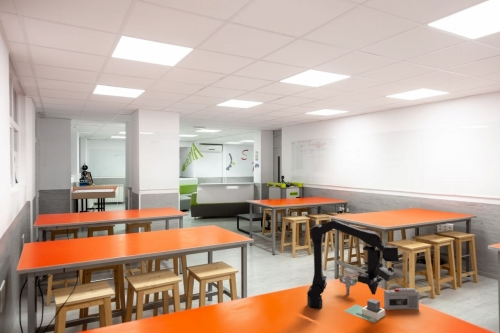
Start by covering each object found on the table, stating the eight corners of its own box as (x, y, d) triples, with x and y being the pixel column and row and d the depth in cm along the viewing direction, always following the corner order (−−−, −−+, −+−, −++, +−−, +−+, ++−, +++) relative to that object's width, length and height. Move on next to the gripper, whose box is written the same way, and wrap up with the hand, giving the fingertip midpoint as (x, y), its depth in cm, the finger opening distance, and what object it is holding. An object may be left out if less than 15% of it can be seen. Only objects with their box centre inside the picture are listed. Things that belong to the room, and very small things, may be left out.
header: (361, 314, 146) (361, 308, 146) (369, 309, 151) (369, 304, 151) (377, 319, 140) (377, 314, 140) (385, 315, 145) (385, 309, 145)
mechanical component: (340, 292, 174) (340, 273, 174) (358, 297, 166) (358, 278, 166) (337, 293, 172) (337, 274, 172) (355, 299, 164) (355, 279, 164)
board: (343, 312, 149) (343, 310, 149) (355, 306, 156) (355, 303, 156) (374, 324, 138) (374, 322, 138) (386, 316, 145) (386, 314, 145)
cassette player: (386, 311, 151) (386, 290, 151) (384, 309, 153) (384, 288, 153) (418, 310, 152) (418, 289, 152) (415, 308, 154) (415, 287, 154)
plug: (366, 313, 146) (366, 300, 146) (370, 311, 149) (370, 298, 149) (375, 317, 143) (375, 303, 143) (379, 314, 145) (379, 301, 145)
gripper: (381, 268, 133) (381, 306, 133) (400, 259, 146) (400, 294, 146) (356, 262, 142) (356, 297, 142) (376, 254, 154) (376, 287, 154)
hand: (373, 294), depth 146 cm, fingers closed
